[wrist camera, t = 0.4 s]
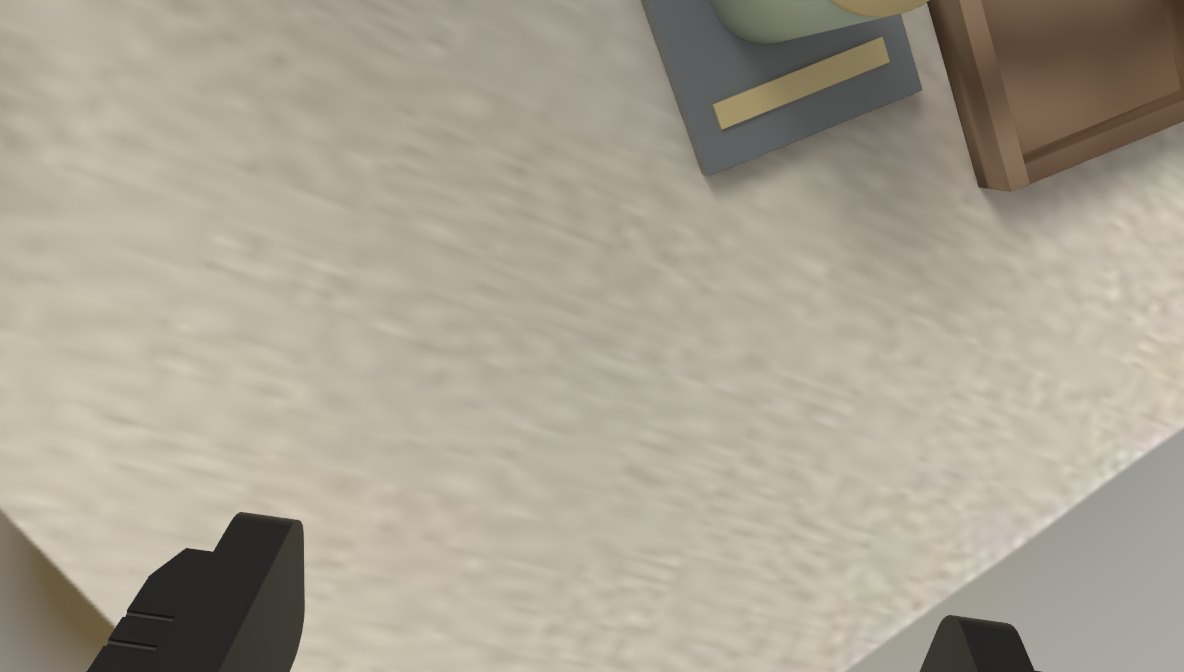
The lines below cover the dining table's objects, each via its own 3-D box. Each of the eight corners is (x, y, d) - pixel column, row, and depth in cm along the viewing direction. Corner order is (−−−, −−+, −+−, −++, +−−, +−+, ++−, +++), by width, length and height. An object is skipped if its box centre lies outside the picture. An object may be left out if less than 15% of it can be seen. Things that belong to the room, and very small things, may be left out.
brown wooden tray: (914, -44, 38) (944, -55, 36) (1137, -133, 39) (1182, -150, 36) (979, 187, 41) (1011, 191, 38) (1189, 101, 41) (1234, 100, 39)
